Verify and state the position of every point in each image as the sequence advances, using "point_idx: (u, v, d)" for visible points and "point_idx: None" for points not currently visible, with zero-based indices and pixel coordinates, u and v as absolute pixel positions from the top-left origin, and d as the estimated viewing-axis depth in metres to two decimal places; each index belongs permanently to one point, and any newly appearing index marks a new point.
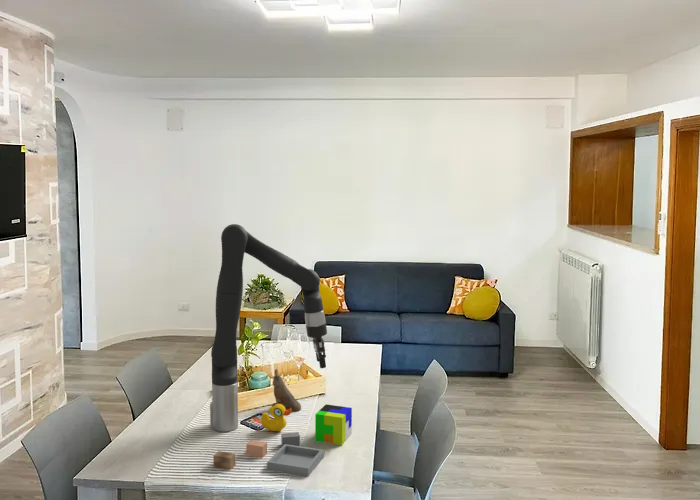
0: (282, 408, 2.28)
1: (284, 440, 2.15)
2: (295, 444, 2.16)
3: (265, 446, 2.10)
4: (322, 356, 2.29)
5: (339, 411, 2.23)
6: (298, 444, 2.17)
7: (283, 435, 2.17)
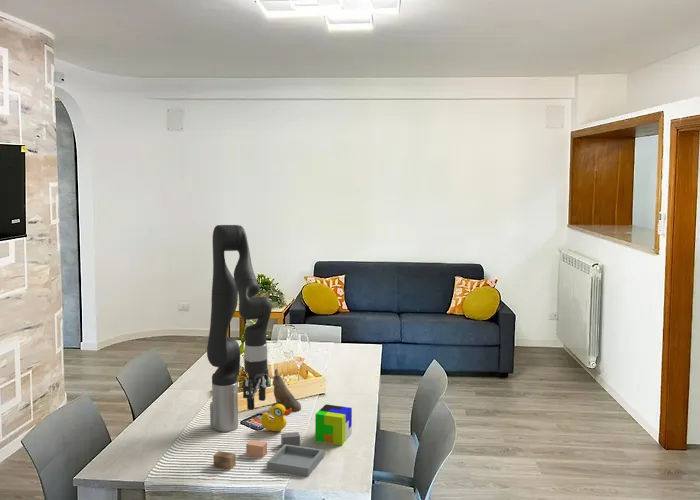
0: (282, 408, 2.28)
1: (284, 440, 2.15)
2: (295, 444, 2.16)
3: (265, 446, 2.10)
4: (246, 396, 2.02)
5: (339, 411, 2.23)
6: (298, 444, 2.17)
7: (283, 435, 2.17)
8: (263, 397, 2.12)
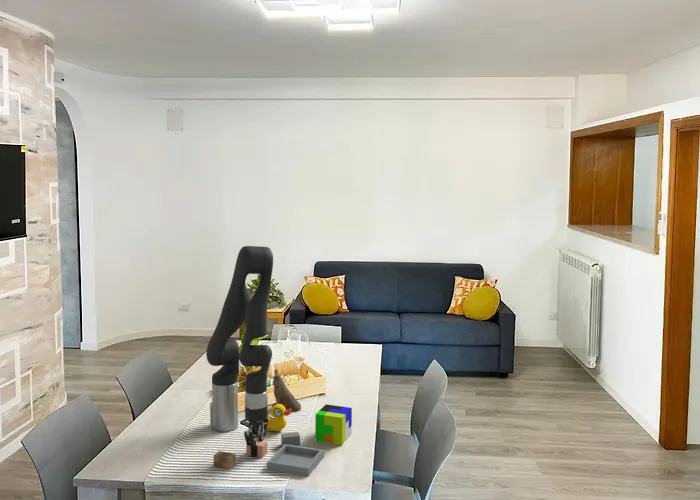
0: (282, 408, 2.28)
1: (284, 440, 2.15)
2: (295, 444, 2.16)
3: (265, 446, 2.10)
4: (250, 444, 2.06)
5: (339, 411, 2.23)
6: (298, 444, 2.17)
7: (283, 435, 2.17)
8: None
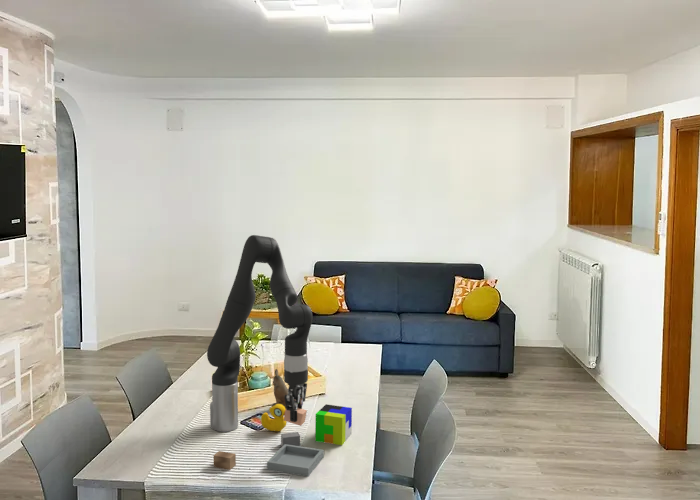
0: (282, 408, 2.28)
1: (284, 440, 2.15)
2: (295, 444, 2.17)
3: (304, 414, 2.02)
4: (290, 408, 1.98)
5: (339, 411, 2.23)
6: (298, 444, 2.17)
7: (283, 435, 2.17)
8: None
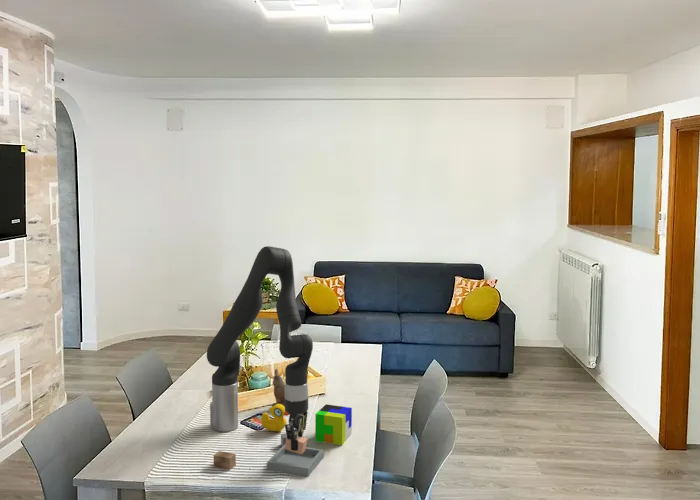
0: (282, 408, 2.28)
1: (284, 440, 2.15)
2: None
3: (305, 442, 2.03)
4: (291, 438, 1.99)
5: (339, 411, 2.23)
6: None
7: (283, 435, 2.17)
8: None
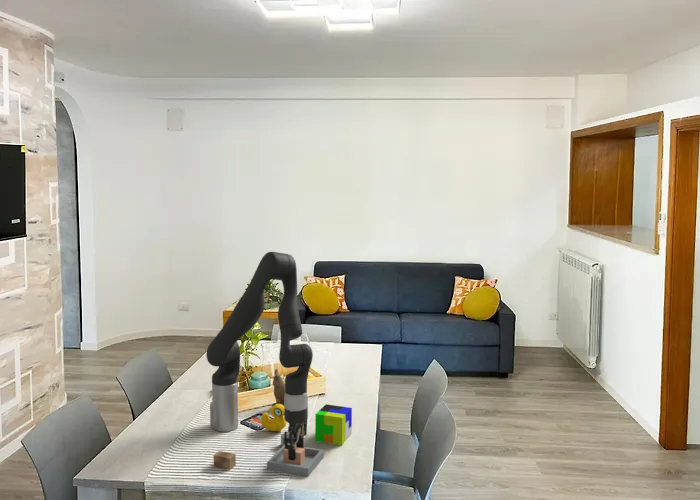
0: (282, 408, 2.28)
1: None
2: None
3: (303, 452, 2.04)
4: (288, 447, 1.98)
5: (339, 411, 2.23)
6: None
7: (283, 435, 2.17)
8: None
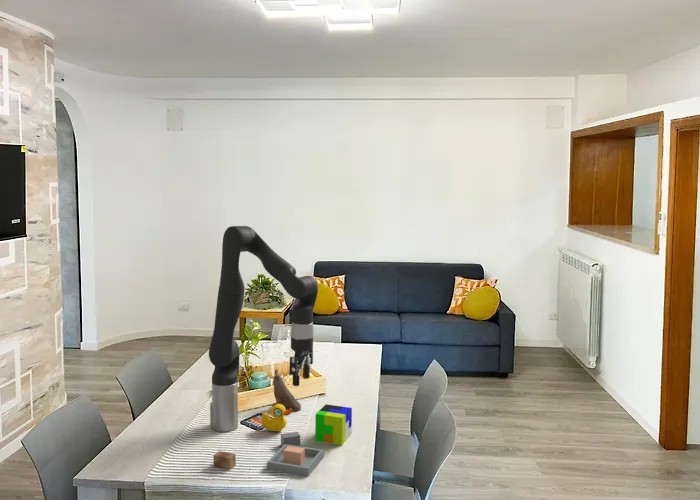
0: (282, 408, 2.28)
1: (285, 440, 2.15)
2: (295, 444, 2.17)
3: (303, 452, 2.04)
4: (292, 373, 2.07)
5: (339, 411, 2.23)
6: (298, 443, 2.17)
7: (283, 435, 2.17)
8: (307, 375, 2.17)
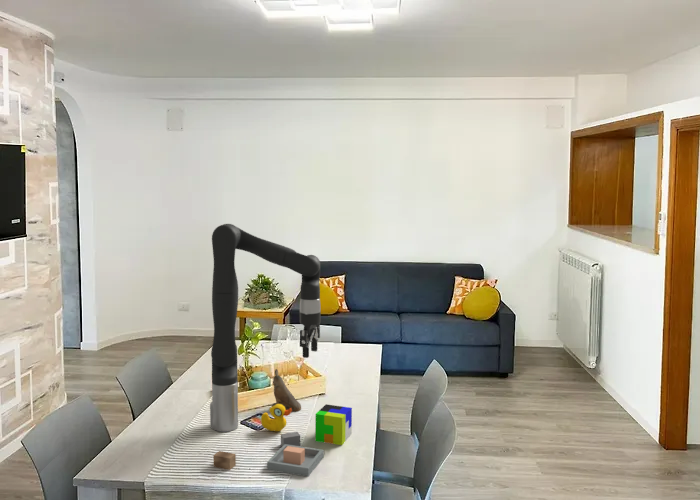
0: (282, 408, 2.28)
1: (285, 440, 2.15)
2: (295, 444, 2.17)
3: (303, 452, 2.04)
4: (303, 345, 2.22)
5: (339, 411, 2.23)
6: (299, 443, 2.17)
7: (283, 435, 2.16)
8: (315, 348, 2.33)
